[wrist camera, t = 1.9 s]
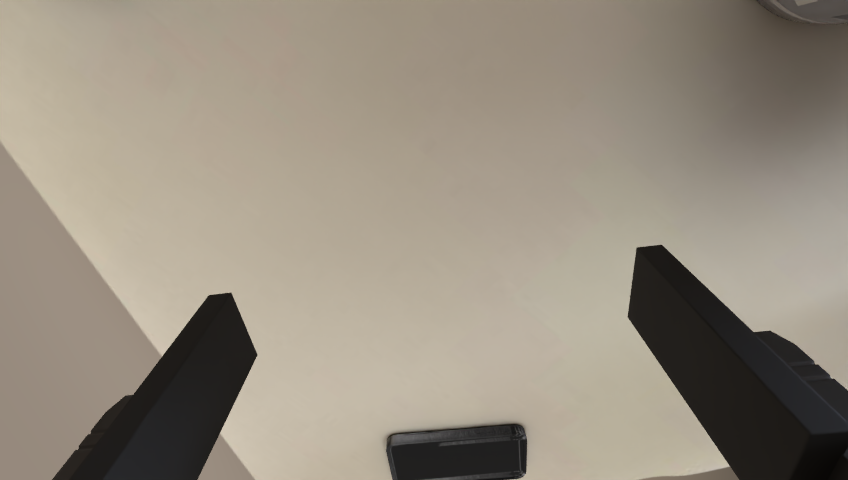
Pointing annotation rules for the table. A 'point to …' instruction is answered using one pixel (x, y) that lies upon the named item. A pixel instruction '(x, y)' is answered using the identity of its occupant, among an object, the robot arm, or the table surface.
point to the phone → (459, 454)
